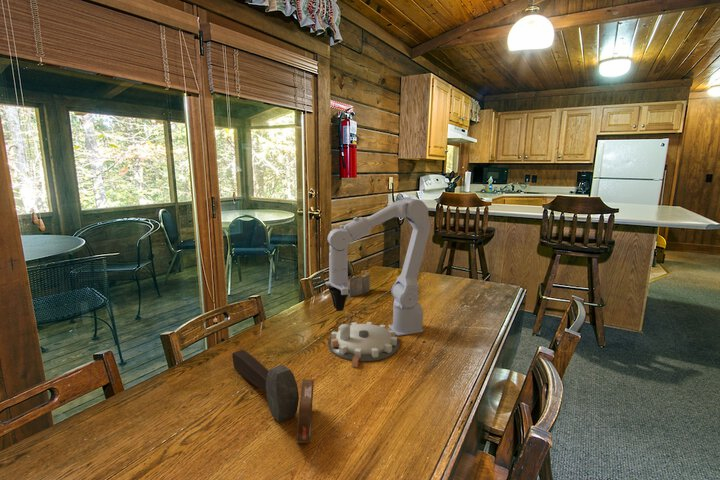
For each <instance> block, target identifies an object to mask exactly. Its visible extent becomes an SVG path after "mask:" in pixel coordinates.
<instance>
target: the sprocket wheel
mask: <svg viewBox="0 0 720 480" xmlns="http://www.w3.org/2000/svg"><path fill="white" fill-rule="evenodd" d="M372 323H373V322H372V321H366V323H357V321H356V322H355V321H354V322H351V323H350V324H349V323H341V324H340V325H339V326H338V330H337V331H332V332H331V334H330V337H331V346H332V348H334V347H339V353H340V354H342V355H343V354H345V353H350V354H355V356H358V357H361V355H371V356H372V357H373V358H375V357H378V353H381V352H387V353H390V352H392V345H393V346H396V345H397V338H398V337H397V336H396V334H395V331H394V330H391V329H389V330H388V329H387V328H386V327H387V325H385V324H380V325H377V324H372ZM395 336H396V337H395Z"/></svg>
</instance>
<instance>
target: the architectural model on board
mask: <svg viewBox="0 0 720 480" xmlns="http://www.w3.org/2000/svg"><path fill="white" fill-rule="evenodd" d="M360 271H361V275H358V276H353V277H351V278H349V279H348V289H349V290H350V293H349V294H348V296H347V297H348V298H352V297H355V296H359V295H362V294H365V293H369V292H370V291H371V290H370V289H371V288H370V287H371V286H370V282H371V278H370V277H371V275H370V274H369V272H367V270H361V269H360Z"/></svg>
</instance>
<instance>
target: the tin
mask: <svg viewBox="0 0 720 480" xmlns="http://www.w3.org/2000/svg"><path fill="white" fill-rule="evenodd" d="M314 381H315V380H313V379H304V378H302V379H301V385H300V394H299V403H298V411H297V413H298V414H297V425H296V426H297V427H296V428H297V430H296V443H297V444H304V443H305V444H307V443H310V442H311V434H312V433H311V431H312V419H313V417H312V416H313V402H314V401H313V400H314V399H313V398H314V383H315V382H314Z"/></svg>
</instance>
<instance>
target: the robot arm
mask: <svg viewBox="0 0 720 480" xmlns="http://www.w3.org/2000/svg"><path fill="white" fill-rule="evenodd" d="M429 211H430V209H429V208H428V206H427V205H426V203H425V202H424V201H423V200H421V199H415V198H411V197H407V196H406V197H403V198H401V199H399V200H396V201H394V202H392V203H391V204H389V205H386V206H385V207H384V208H382V209H380V210H378V211H377V212H375V213H373V214H371V215H370V216H368V217H362V216H359V217H357V216H355V217H354V218H352V221H350V222H348V223H347V224H346V223H345V224H344V225H343V224H341V225H339V228H333V229H332V230H330V231H329V233H328V234H327V237H326V240H327V243H328V244H329V247H328V250H329V253H328V270H329V271H328V276H329V280H328V281H327V280H326V281H325V285H326V286H327V288H328V291H329V293H330V295H331V300H332V303H333V307H334V309H335V311H336V312H342V311H344V308H345V305H346V301H347V299H348V298H347V297H348V294H349V293H350V290H349V289H348V280H349V276H348V274H349V269H348V266H349V263H348V260H349V259H348V255H349V253H348V247H349V246H350V243H354V242H356V241H357V240H359V239H361V238H363V237H365V236H367V235H368V234H370V233H371V230H372V228H375V227H376V226H378V225H380V224H382V223H385V222H387V221H388V220H391V219H393V218H401V219H402V218H403V219H405V220H406V221H408V223H409V224H410V226H411V227H412V232H411V236H410V239H409V243H408V247H407V250H406V254H405V258H404V262H403V265H402V269H401V274H399V275H398V276H397V277H396V281H395V282H394V284H393V285H392V286H391V296H392V297H393V298H394V301H393V305H392V307H393V308H392V309H393V310H392V324H388V326H387V327H388V328H389V330H394V331H395V336H396V337H397V336H400V337H401V336H406V335H412V334H419V333H424V329H423V322H424V321H423V316H424V311H423V307H422V305H421V304H420V303H419V288H420V287H419V283H418V275H419V272H420V268H421V266H422V265H421V264H422V261H423V257H424V254H425V251H426V247H427V242H428V240H429V237H430V233H431V230H432V229H431V227H432V224H431V221H430V216H429Z"/></svg>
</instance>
